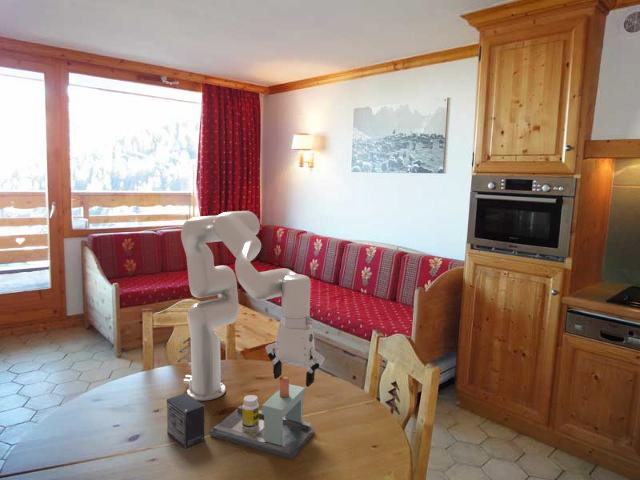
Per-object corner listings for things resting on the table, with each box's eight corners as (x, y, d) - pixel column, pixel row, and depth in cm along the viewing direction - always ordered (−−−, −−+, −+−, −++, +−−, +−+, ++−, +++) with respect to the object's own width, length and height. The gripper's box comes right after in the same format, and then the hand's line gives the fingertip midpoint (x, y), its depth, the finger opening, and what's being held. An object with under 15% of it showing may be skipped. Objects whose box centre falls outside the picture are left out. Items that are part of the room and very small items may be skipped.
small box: (206, 439, 129) (205, 404, 128) (185, 449, 125) (184, 413, 123) (187, 424, 136) (186, 391, 135) (166, 433, 132) (165, 398, 130)
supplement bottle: (255, 430, 131) (255, 402, 130) (239, 428, 132) (239, 400, 131) (261, 421, 136) (261, 395, 134) (245, 419, 137) (245, 393, 135)
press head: (261, 440, 124) (262, 387, 122) (285, 415, 137) (286, 367, 135) (281, 446, 122) (282, 391, 119) (304, 420, 134) (305, 371, 132)
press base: (210, 435, 131) (210, 427, 131) (237, 412, 144) (237, 404, 143) (292, 459, 121) (292, 450, 121) (314, 432, 134) (314, 423, 133)
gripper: (330, 322, 123) (327, 381, 126) (273, 311, 130) (272, 368, 133) (319, 330, 117) (316, 393, 119) (260, 319, 123) (258, 379, 126)
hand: (293, 380), depth 126 cm, fingers open, 9 cm apart
